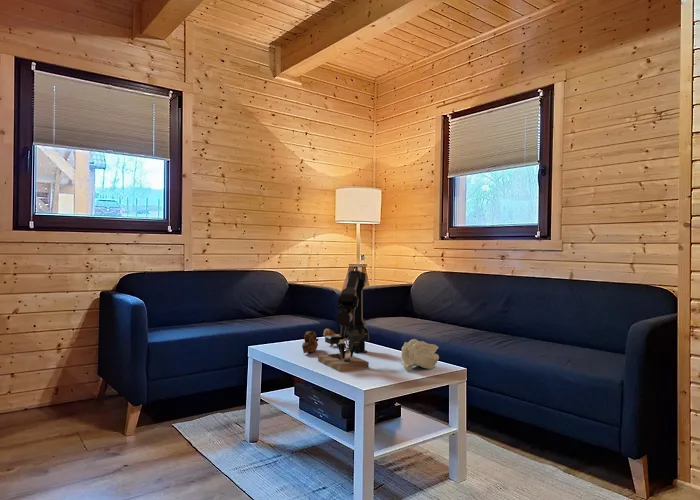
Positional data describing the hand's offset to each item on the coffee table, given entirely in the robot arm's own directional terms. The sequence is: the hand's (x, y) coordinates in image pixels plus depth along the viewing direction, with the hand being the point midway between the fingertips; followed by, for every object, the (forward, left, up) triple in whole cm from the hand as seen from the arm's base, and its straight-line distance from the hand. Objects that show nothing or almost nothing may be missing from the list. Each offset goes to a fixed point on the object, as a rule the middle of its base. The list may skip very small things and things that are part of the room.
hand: (346, 358), depth 207 cm
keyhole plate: (-4, 0, -4) cm, 5 cm away
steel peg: (0, 0, -3) cm, 3 cm away
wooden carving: (-32, -2, -4) cm, 32 cm away
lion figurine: (-38, +15, -4) cm, 41 cm away
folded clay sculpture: (+15, +26, -4) cm, 30 cm away
